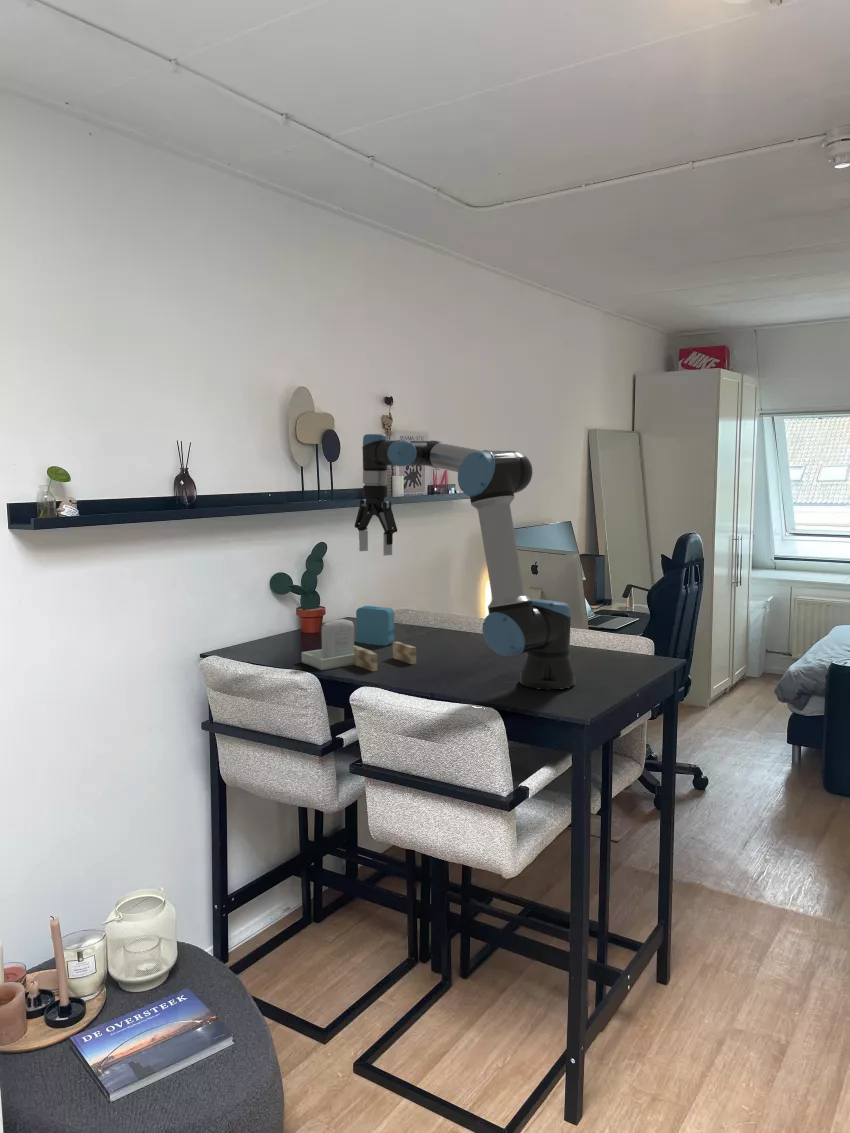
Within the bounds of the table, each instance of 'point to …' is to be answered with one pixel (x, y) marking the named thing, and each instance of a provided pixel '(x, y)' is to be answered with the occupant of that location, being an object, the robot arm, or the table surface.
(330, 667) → the tray
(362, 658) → the pair of tan blocks
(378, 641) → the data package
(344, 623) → the grey rounded slab
